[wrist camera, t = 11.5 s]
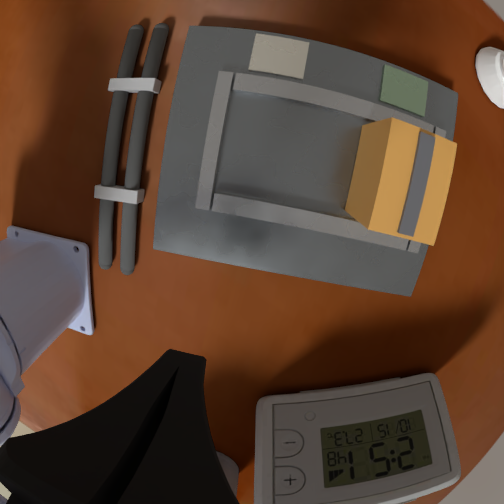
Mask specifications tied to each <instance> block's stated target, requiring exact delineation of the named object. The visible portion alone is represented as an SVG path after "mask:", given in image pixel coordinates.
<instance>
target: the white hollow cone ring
mask: <svg viewBox="0 0 504 504" xmlns="http://www.w3.org/2000/svg"><path fill="white" fill-rule="evenodd" d="M475 66H476V71H477V75H478V79H479V81H480V83H481V86H482V88H483V90H484V92H485V93H486V94H487V96H488V97H489V98H490V100H491V101H492V102H493V103H494V104H496V105H497V106H498V107H499V108H503V109H504V51H502V50H499V49H496V48H493V47H486V48H482V49H480V51H479V52H478V54H477V55H476V65H475Z"/></svg>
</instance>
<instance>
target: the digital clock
mask: <svg viewBox="0 0 504 504" xmlns="http://www.w3.org/2000/svg"><path fill="white" fill-rule="evenodd" d="M460 476H461V467H460V460H459V455H458V450H457V446H456V441H455V437H454V432H453V428H452V424H451V420H450V416H449V413H448V409H447V405H446V402H445V398H444V395H443V392H442V388H441V385H440V382H439V380H438V378H437V376H436V375H435V374H433V373H423V374H419V375H414V376H410V377H405V378H401V379H400V377H397V378H392V379H386V380H381V381H376V382H370V383H364V384H358V385H351V386H344V387H336V388H328V389H320V390H310V391H300V393H296V394H282V395H269V396H265V397H262V398H260V399H259V401H258V402H257V406H256V429H255V478H254V504H404V503H407V502H410V501H413V500H416V498H418V497H421V496H424V495H427V494H430V493H432V492H435V491H438V490H441V489H443V488H446V487H448V486H450V485H452V484H454V483H455V482H457V481H458V480H459V478H460Z"/></svg>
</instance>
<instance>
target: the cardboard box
mask: <svg viewBox="0 0 504 504" xmlns="http://www.w3.org/2000/svg"><path fill="white" fill-rule="evenodd" d="M456 148H457V143H454V142H452V141H450V140H448V139H446V138H443V137H441V136H439V135H437V134H434V133H432V132H429V131H427V130H425V129H422V128H420V127H417V126H414V125H412V124H409V123H407V122H404V121H401V120H398V119H396V118H393V117H391V118H387V119H383V120H380V121H376V122H372V123H369V124H365V125H362V130H361V135H360V141H359V146H358V151H357V156H356V161H355V166H354V171H353V175H352V180H351V184H350V189H349V193H348V198H347V202H346V206H345V211H346V212H347V213H348V214H350V215H351V216H352V217H353V218H355V219H356V220H357V221H358V222H359V223H361V224H362V225H363V226H364V227H365V228H367V229H368V230H372V231H376V232H380V233H384V234H389V235H393V236H397V237H401V238H405V239H409V240H413V241H417V242H420V243H424V244H428V245H432V246H434V243H435V239H436V236H437V233H438V229H439V226H440V222H441V218H442V214H443V211H444V207H445V203H446V199H447V194H448V190H449V185H450V181H451V176H452V171H453V166H454V160H455V154H456Z"/></svg>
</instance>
